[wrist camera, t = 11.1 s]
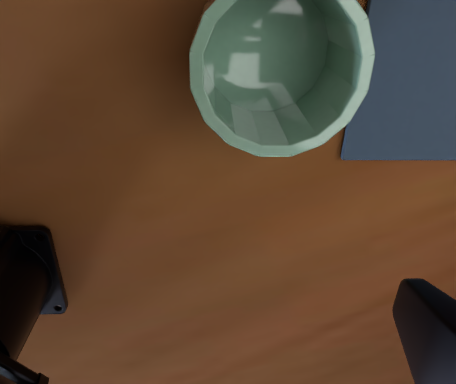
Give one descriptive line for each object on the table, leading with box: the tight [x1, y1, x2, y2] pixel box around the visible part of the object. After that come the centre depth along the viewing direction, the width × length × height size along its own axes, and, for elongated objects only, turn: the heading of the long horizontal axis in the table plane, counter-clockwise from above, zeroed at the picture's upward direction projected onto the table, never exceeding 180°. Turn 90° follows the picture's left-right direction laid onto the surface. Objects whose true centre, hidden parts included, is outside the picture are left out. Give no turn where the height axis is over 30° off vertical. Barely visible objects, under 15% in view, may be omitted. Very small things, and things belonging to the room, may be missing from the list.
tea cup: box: [189, 0, 375, 157], centre depth 16 cm, size 7×7×5 cm
